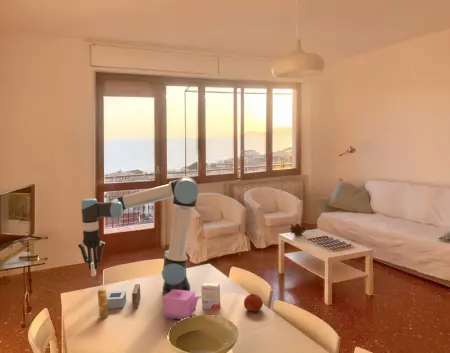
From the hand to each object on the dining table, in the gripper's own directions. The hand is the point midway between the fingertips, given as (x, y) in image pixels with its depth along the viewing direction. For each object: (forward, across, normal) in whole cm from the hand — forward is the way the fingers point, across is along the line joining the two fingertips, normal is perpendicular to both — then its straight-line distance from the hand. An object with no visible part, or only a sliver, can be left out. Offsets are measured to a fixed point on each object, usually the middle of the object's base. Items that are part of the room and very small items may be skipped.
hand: (93, 275), depth 187 cm
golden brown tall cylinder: (+16, -6, +12) cm, 21 cm away
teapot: (+17, -44, +18) cm, 51 cm away
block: (+16, -10, 0) cm, 19 cm away
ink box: (+17, -58, +10) cm, 62 cm away
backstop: (+16, -20, 0) cm, 26 cm away
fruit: (+17, -78, +17) cm, 82 cm away
